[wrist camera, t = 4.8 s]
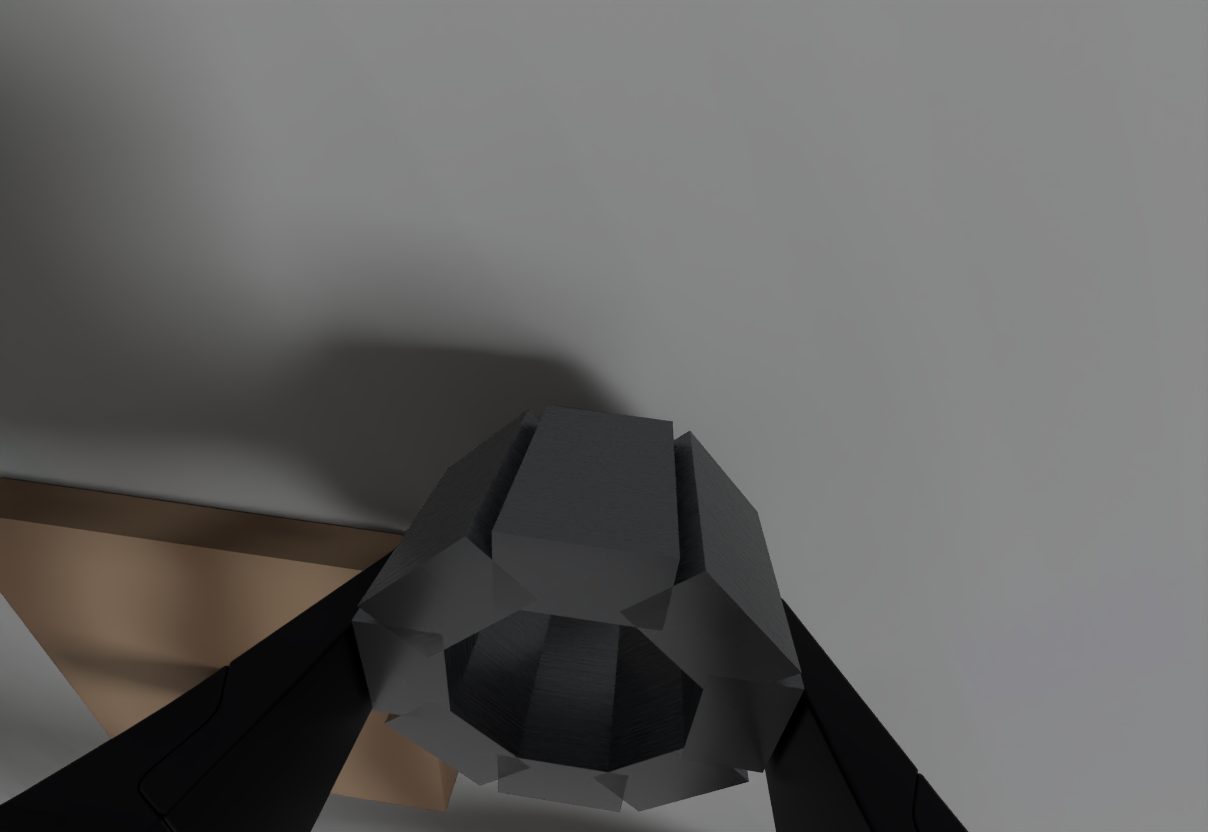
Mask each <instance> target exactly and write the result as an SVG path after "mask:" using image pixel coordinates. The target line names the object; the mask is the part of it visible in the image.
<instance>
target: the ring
mask: <svg viewBox="0 0 1208 832" xmlns="http://www.w3.org/2000/svg"><path fill="white" fill-rule="evenodd" d="M358 607H359V610H358V611H357V613H356V614H355V616H354V618H353V619H352V624H353V629H354V633H355V637H356V641H357V645H358V649H359V653H360V657H361V661H362V666H363V670H364V674H365V678H366V682H367V686H368V690H369V694H370V698H371V702H372V707H373V711H377V712H383V713H389V715H388V717H387V719H386V721H385V723H384V724H386V725H387V726H389V727H391V728H392V729H394V730H395V731H397V732H398V733H400V734H401V735H403V736H404V737H406V738H408V739H409V740H411V741H412V742H414V743H415V744H417V745H418V746H420V747H421V748H423V749H425V750H426V751H428V752H429V753H431V754H432V755H434V756H435V757H437V758H438V759H440V760H442V761H443V762H445V763H446V764H448V765H449V766H451V767H452V768H454V769H455V770H457V771H459V772H460V773H462V774H463V775H465V776H466V777H468V778H469V779H471V780H472V781H474V782H476V783H477V784H479V785H483V784H486V783H489V782H492V781H495V780H497V779H498V792H500V793H507V794H513V795H519V796H525V797H531V798H537V799H543V800H549V801H555V802H562V803H568V804H574V805H580V806H586V807H592V808H598V809H604V810H610V811H617V812H620V809H621V805H622V801H623V800H624V801H625V802H627V803H628V804H629V805H631V806H632V807H634V808H635V809H636V810H638V811H642V810H646V809H650V808H654V807H657V806H661V805H665V804H668V803H672V802H676V801H679V800H683V799H687V798H690V797H694V796H698V795H701V794H705V793H709V792H713V791H716V790H720V789H724V788H727V787H731V786H735V785H738V784H742V783H746V782H749V780H748V773H747V770H749V771H755V772H762V773H763V771H764V769H765V767H766V765H767V763H768V761H769V759H770V757H771V755H772V753H773V751H774V749H775V747H776V745H777V743H778V741H779V739H780V737H781V735H782V733H783V731H784V729H785V727H786V725H787V723H788V721H789V719H790V717H791V715H792V713H793V711H794V709H795V707H796V705H797V703H798V701H799V699H800V697H801V695H802V693H803V691H804V685H803V681H802V678H801V674H800V673H802V672H801V669H800V665H799V661H798V658H797V654H796V651H795V647H794V643H793V640H792V636H791V632H790V629H789V625H788V621H787V618H786V614H785V611H784V607H783V603H782V600H781V596H780V592H779V589H778V585H777V581H776V578H775V574H774V571H773V567H772V563H771V560H770V556H769V552H768V549H767V545H766V542H765V538H764V534H763V531H762V527H761V523H760V520H759V516H758V512H757V511H756V510H755V508H754V507H753V506H752V505H751V504H750V502H749V501H748V500H747V499H746V498H745V496H744V495H743V494H742V493H741V492H740V490H739V489H738V488H737V487H736V486H735V484H734V483H733V482H732V481H731V480H730V478H729V477H728V476H727V475H726V473H725V472H724V471H723V470H722V469H721V467H720V466H719V465H718V464H717V463H716V461H715V460H714V459H713V458H712V457H711V455H710V454H709V453H708V452H707V451H706V449H705V448H704V447H703V446H702V445H701V443H700V442H699V441H698V440H697V439H696V437H695V436H694V435H693V434H692V432H691V431H688V432H687V433H685V434H684V435H682V436H680V437H679V438H677V439H675V440H674V439H673V421H665V420H658V419H650V418H643V417H635V416H627V415H620V414H612V413H604V412H597V411H589V410H582V409H574V408H566V407H559V406H551V405H547V406H546V408H545V411H544V413H543V415H542V417H541V420H540V421H539V420H538V419H537V418H536V417H535V416H534V415H533V414H532V413H531V411H530V410H529V409H528V410H527V411H525V412H524V413H523V414H521V415H520V416H519V417H517V418H516V419H515V420H513V421H512V422H511V423H509V424H508V425H507V426H505V427H504V428H503V429H501V430H500V431H499V432H497V433H496V434H495V435H493V436H492V437H490V438H489V439H488V440H486V441H485V442H484V443H482V444H481V445H480V446H478V447H477V448H476V449H474V450H473V451H472V452H470V453H469V454H468V455H466V456H465V457H464V458H462V459H461V460H460V461H458V462H457V463H455V464H454V465H453V466H451V467H450V468H449V469H448V470H447V471H446V473H445V474H444V476H443V477H442V479H441V480H440V482H439V483H438V485H437V486H436V488H435V489H434V491H433V492H432V494H431V495H430V497H429V498H428V500H427V501H426V503H425V504H424V506H423V507H422V509H421V510H420V512H419V513H418V515H417V517H416V518H415V520H414V521H413V523H412V524H411V526H410V527H409V529H408V530H407V532H406V533H405V535H404V536H403V538H402V539H401V541H400V542H399V544H398V545H397V547H396V548H395V550H394V551H393V553H392V554H391V556H390V557H389V559H388V560H387V562H386V563H385V565H384V567H383V568H382V570H381V571H380V573H379V574H378V576H377V577H376V579H375V580H374V582H373V583H372V585H371V586H370V588H369V589H368V591H367V592H366V594H365V595H364V597H363V598H362V600H361V601H360V603H359V604H358Z"/></svg>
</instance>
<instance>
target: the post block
mask: <svg viewBox="0 0 1208 832" xmlns="http://www.w3.org/2000/svg"><path fill="white" fill-rule="evenodd" d="M403 536H404V535H397V534H390V533H383V532H376V531H369V530H362V529H355V528H348V527H341V526H334V525H327V524H320V523H313V522H306V521H299V520H292V519H285V518H278V517H271V516H264V515H257V514H250V513H243V512H236V511H229V510H222V509H215V508H208V507H201V506H194V505H187V504H180V503H173V502H166V501H159V500H152V499H145V498H138V497H131V496H124V495H117V494H110V493H103V492H96V491H89V490H82V489H75V488H68V487H61V486H54V485H47V484H40V483H33V482H26V481H19V480H12V479H5V478H0V592H1V594H2V595H3V596H4V598H5V599H6V600H7V602H8V603H9V604H10V606H11V607H12V608H13V610H14V611H15V612H16V614H17V615H18V616H19V617H20V619H21V620H22V621H23V623H24V624H25V625H26V627H27V628H28V629H29V631H30V632H31V633H32V635H33V636H34V637H35V639H36V640H37V641H38V643H39V644H40V645H41V647H42V648H43V649H44V651H45V652H46V653H47V655H48V656H49V657H50V659H51V660H52V661H53V663H54V664H55V665H56V666H57V668H58V669H59V670H60V672H61V673H62V674H63V676H64V677H65V678H66V680H67V681H68V682H69V684H70V685H71V686H72V688H73V689H74V690H75V692H76V693H77V694H78V696H79V697H80V698H81V700H82V701H83V702H84V704H85V705H86V706H87V708H88V709H89V710H90V712H91V713H92V714H93V715H94V717H95V718H96V719H97V721H98V722H99V723H100V725H101V726H102V727H103V729H104V730H105V731H106V733H107V734H108V735H109V737H110V738H111V739H112V738H114V737H115V736H117V735H119V734H120V733H122V732H124V731H125V730H127V729H128V728H130V727H132V726H133V725H135V724H137V723H138V722H140V721H141V720H143V719H145V718H146V717H148V716H149V715H151V714H153V713H154V712H156V711H157V710H159V709H161V708H162V707H164V706H166V705H167V704H169V703H170V702H172V701H173V700H175V699H176V698H178V697H179V696H181V695H182V694H184V693H185V692H187V691H188V690H190V689H191V688H193V687H194V686H196V685H197V684H199V683H200V682H202V681H203V680H205V679H206V678H208V677H209V676H210V675H212V674H213V673H215V672H216V671H218V670H219V669H221V668H222V667H224V666H225V665H228V666H229V664H230V662H231V661H232V660H234V659H235V658H237V657H238V656H240V655H241V654H243V653H244V652H246V651H247V650H248V649H250V648H251V647H253V646H254V645H256V644H257V643H259V642H260V641H261V640H263V639H264V638H266V637H267V636H269V635H270V634H272V633H273V632H275V631H276V630H277V629H279V628H280V627H282V626H283V625H285V624H286V623H288V622H289V621H290V620H292V619H293V618H295V617H296V616H298V615H299V614H301V613H302V612H304V611H305V610H306V609H308V608H309V607H311V606H312V605H314V604H315V603H317V602H318V601H319V600H321V599H322V598H324V597H325V596H327V595H328V594H330V593H331V592H333V591H334V590H335V589H337V588H338V587H340V586H341V585H343V584H344V583H346V582H347V581H349V580H350V579H351V578H353V577H354V576H356V575H357V574H359V573H360V572H362V571H363V570H364V569H366V568H367V567H369V566H370V565H372V564H373V563H375V562H376V561H378V560H379V559H380V558H382V557H383V556H385V555H386V554H388V553H389V552H391V551H392V550H393V549H395V548H396V547H397V545H398V544H399V542H400V541H401V539H402V538H403ZM388 715H389V713H383V712H377V711H373V708H372V710H371V712H370V714H369V716H368V718H367V720H366V722H365V724H364V726H363V728H362V730H361V732H360V734H359V736H358V738H357V740H356V742H355V744H354V746H353V748H352V750H351V752H350V754H349V756H348V758H347V760H346V762H345V764H344V766H343V768H342V770H341V772H340V774H339V776H338V778H337V780H336V782H335V784H334V786H333V788H332V790H331V792H330V793H331V794H337V795H343V796H349V797H355V798H361V799H367V800H373V801H379V802H385V803H391V804H397V805H403V806H410V807H416V808H422V809H428V810H434V811H440V812H446V809H447V806H448V803H449V800H450V797H451V793H452V790H453V787H454V784H455V781H456V778H457V775H458V771H457V770H455V769H454V768H452V767H451V766H449V765H448V764H446V763H445V762H443V761H442V760H440V759H438V758H437V757H435V756H434V755H432V754H431V753H429V752H428V751H426V750H425V749H423V748H421V747H420V746H418V745H417V744H415V743H414V742H412V741H411V740H409V739H408V738H406V737H404V736H403V735H401V734H400V733H398V732H397V731H395V730H394V729H392V728H391V727H389V726H387V725H386V724H384V723H385V721H386V719H387V717H388Z"/></svg>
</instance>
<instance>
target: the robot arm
mask: <svg viewBox="0 0 1208 832" xmlns="http://www.w3.org/2000/svg"><path fill="white" fill-rule="evenodd" d="M394 550H395V549H393V550H392V551H391V552H389V553H388V554H386V555H385V556H383V557H382V558H380V559H379V560H378V561H376V562H375V563H373V564H372V565H370V566H369V567H367V568H366V569H364V570H363V571H362V572H360V573H359V574H357V575H356V576H354V577H353V578H351V579H350V580H349V581H347V582H346V583H344V584H343V585H341V586H340V587H338V588H337V589H335V590H334V591H333V592H331V593H330V594H328V595H327V596H325V597H324V598H322V599H321V600H319V601H318V602H317V603H315V604H314V605H312V606H311V607H309V608H308V609H306V610H305V611H304V612H302V613H301V614H299V615H298V616H296V617H295V618H293V619H292V620H290V621H289V622H288V623H286V624H285V625H283V626H282V627H280V628H279V629H277V630H276V631H275V632H273V633H272V634H270V635H269V636H267V637H266V638H264V639H263V640H261V641H260V642H259V643H257V644H256V645H254V646H253V647H251V648H250V649H248V650H247V651H246V652H244V653H243V654H241V655H240V656H238V657H237V658H235V659H234V660H232V661H231V662H230V664H229V666H228V665H225V666H224V667H222V668H221V669H219V670H218V671H216V672H215V673H213V674H212V675H210V676H209V677H208V678H206V679H205V680H203V681H202V682H200V683H199V684H197V685H196V686H194V687H193V688H191V689H190V690H188V691H187V692H185V693H184V694H182V695H181V696H179V697H178V698H176V699H175V700H173V701H172V702H170V703H169V704H167V705H166V706H164V707H162V708H161V709H159V710H157V711H156V712H154V713H153V714H151V715H149V716H148V717H146V718H145V719H143V720H141V721H140V722H138V723H137V724H135V725H133V726H132V727H130V728H128V729H127V730H125V731H124V732H122V733H120V734H119V735H117V736H115V737H114V738H112V739H110V740H109V741H107V742H105V743H104V744H102V745H100V746H99V747H97V748H95V749H94V750H92V751H90V752H89V753H87V754H85V755H84V756H82V757H80V758H79V759H77V760H75V761H74V762H72V763H70V764H69V765H67V766H65V767H64V768H62V769H60V770H59V771H57V772H55V773H54V774H52V775H50V776H49V777H47V778H45V779H44V780H42V781H40V782H39V783H37V784H35V785H34V786H32V787H30V788H29V789H27V790H26V791H24V792H22V793H20V794H19V795H17V796H15V797H13V798H12V799H10V800H8V801H6V802H5V803H3V804H1V805H0V832H311V830H312V828H313V826H314V824H315V822H316V820H317V818H318V816H319V814H320V812H321V810H322V808H323V806H324V804H325V802H326V800H327V798H328V796H329V794H330V792H331V790H332V788H333V786H334V784H335V782H336V780H337V778H338V776H339V774H340V772H341V770H342V768H343V766H344V764H345V762H346V760H347V758H348V756H349V754H350V752H351V750H352V748H353V746H354V744H355V742H356V740H357V738H358V736H359V734H360V732H361V730H362V728H363V726H364V724H365V722H366V720H367V718H368V716H369V714H370V712H371V710H372V708H373V707H372V702H371V698H370V694H369V690H368V686H367V682H366V678H365V674H364V670H363V666H362V661H361V657H360V653H359V649H358V645H357V641H356V637H355V633H354V629H353V624H352V619H353V618H354V616H355V614H356V613H357V611H358V610H359V607H358V604H359V603H360V601H361V600H362V598H363V597H364V595H365V594H366V592H367V591H368V589H369V588H370V586H371V585H372V583H373V582H374V580H375V579H376V577H377V576H378V574H379V573H380V571H381V570H382V568H383V567H384V565H385V563H386V562H387V560H388V559H389V557H390V556H391V554H392V553H393V551H394ZM781 600H782V603H783V607H784V611H785V614H786V618H787V621H788V625H789V629H790V632H791V636H792V640H793V643H794V647H795V651H796V654H797V658H798V661H799V665H800V669H801V672H802V673H800V674H801V678H802V681H803V685H804V691H803V693H802V695H801V697H800V699H799V701H798V703H797V705H796V707H795V709H794V711H793V713H792V715H791V717H790V719H789V721H788V723H787V725H786V727H785V729H784V731H783V733H782V735H781V737H780V739H779V741H778V743H777V745H776V747H775V749H774V751H773V753H772V755H771V757H770V759H769V761H768V763H767V765H766V767H765V772H766V778H767V783H768V789H769V794H770V800H771V805H772V811H773V817H774V822H775V828H776V832H968V831H967V829H966V828H965V827H964V826H963V825H962V823H961V822H960V821H959V820H958V818H957V817H956V816H955V815H954V814H953V812H952V811H951V810H950V809H949V807H948V806H947V805H946V804H945V803H944V801H943V800H942V799H941V798H940V796H939V795H938V794H937V793H936V791H935V790H934V789H933V788H932V786H931V785H930V784H929V783H928V781H927V780H926V779H925V778H924V776H923V775H922V774H920V773H918V769H917V768H916V766H915V765H914V764H913V763H912V761H911V760H910V759H909V758H908V756H907V755H906V754H905V753H904V751H903V750H902V749H901V747H900V746H899V745H898V744H897V742H896V741H895V740H894V739H893V737H892V736H891V735H890V734H889V732H888V731H887V730H886V728H885V727H884V726H883V725H882V723H881V722H880V721H879V720H878V718H877V717H876V716H875V715H874V713H873V712H872V711H871V710H870V708H869V707H868V706H867V704H866V703H865V702H864V701H863V699H862V698H861V697H860V696H859V694H858V693H857V692H856V691H855V689H854V688H853V687H852V685H851V684H850V683H849V682H848V680H847V679H846V678H845V677H844V675H843V674H842V673H841V672H840V670H839V669H838V668H837V667H836V665H835V664H834V663H833V661H832V660H831V659H830V658H829V656H828V655H827V654H826V653H825V651H824V650H823V649H822V648H821V646H820V645H819V644H818V642H817V641H816V640H815V639H814V637H813V636H812V635H811V634H810V632H809V631H808V630H807V629H806V627H805V626H804V625H803V624H802V622H801V621H800V620H799V618H798V617H797V616H796V615H795V613H794V612H793V611H792V610H791V608H790V607H789V606H788V605H787V603H786V602H785V601H784V600H783V599H782V598H781Z"/></svg>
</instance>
